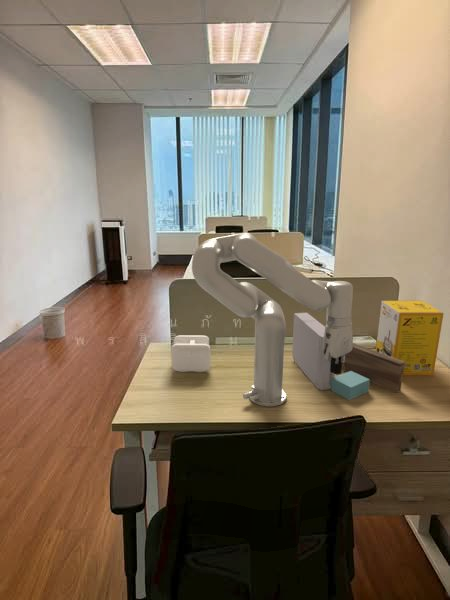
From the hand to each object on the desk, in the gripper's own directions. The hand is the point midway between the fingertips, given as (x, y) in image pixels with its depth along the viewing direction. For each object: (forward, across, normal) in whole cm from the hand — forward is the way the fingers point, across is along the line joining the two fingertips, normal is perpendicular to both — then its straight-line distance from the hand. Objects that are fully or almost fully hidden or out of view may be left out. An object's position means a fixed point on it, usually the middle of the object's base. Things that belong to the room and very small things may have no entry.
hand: (335, 372), depth 128 cm
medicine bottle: (+10, +27, +20) cm, 35 cm away
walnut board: (+10, +22, +1) cm, 25 cm away
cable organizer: (+9, -25, +50) cm, 56 cm away
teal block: (+10, +9, 0) cm, 14 cm away
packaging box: (+11, +43, 0) cm, 45 cm away
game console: (+10, +9, +18) cm, 23 cm away
